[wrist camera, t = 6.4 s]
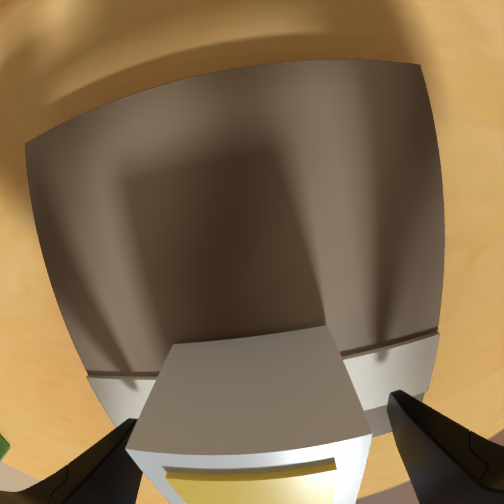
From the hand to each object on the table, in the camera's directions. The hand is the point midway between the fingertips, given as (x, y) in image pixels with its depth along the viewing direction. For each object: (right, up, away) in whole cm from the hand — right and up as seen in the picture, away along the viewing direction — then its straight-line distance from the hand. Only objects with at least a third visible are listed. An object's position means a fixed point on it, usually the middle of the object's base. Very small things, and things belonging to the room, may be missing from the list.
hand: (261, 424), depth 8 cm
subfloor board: (-1, +4, +2) cm, 4 cm away
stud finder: (0, 0, +1) cm, 1 cm away
